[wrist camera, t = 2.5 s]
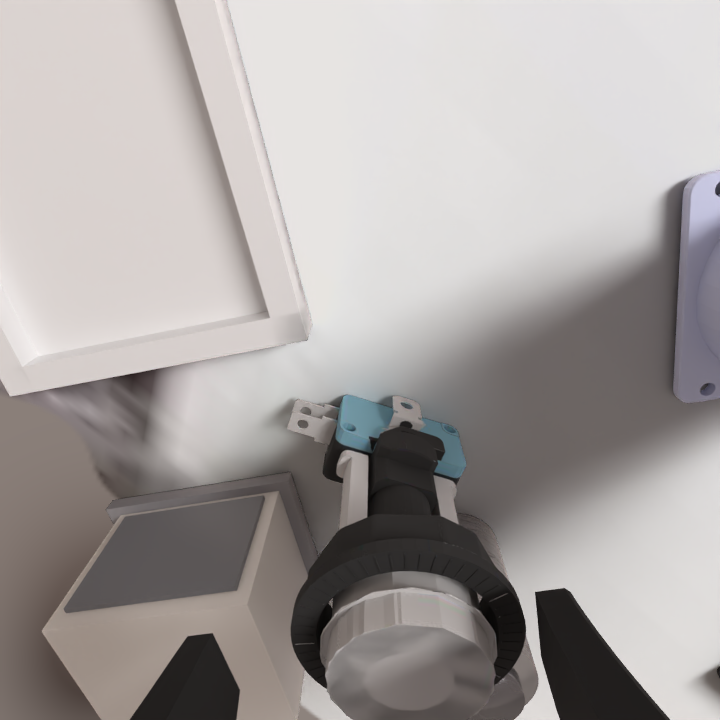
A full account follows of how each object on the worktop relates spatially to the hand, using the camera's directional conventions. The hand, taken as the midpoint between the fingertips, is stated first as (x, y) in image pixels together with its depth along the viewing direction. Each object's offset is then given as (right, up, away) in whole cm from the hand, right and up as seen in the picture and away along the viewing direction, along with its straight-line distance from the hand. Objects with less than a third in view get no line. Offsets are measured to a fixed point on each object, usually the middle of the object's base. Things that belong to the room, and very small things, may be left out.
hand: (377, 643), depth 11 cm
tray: (-9, +12, +5) cm, 16 cm away
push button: (0, +4, +9) cm, 10 cm away
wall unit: (-6, -2, +11) cm, 13 cm away
